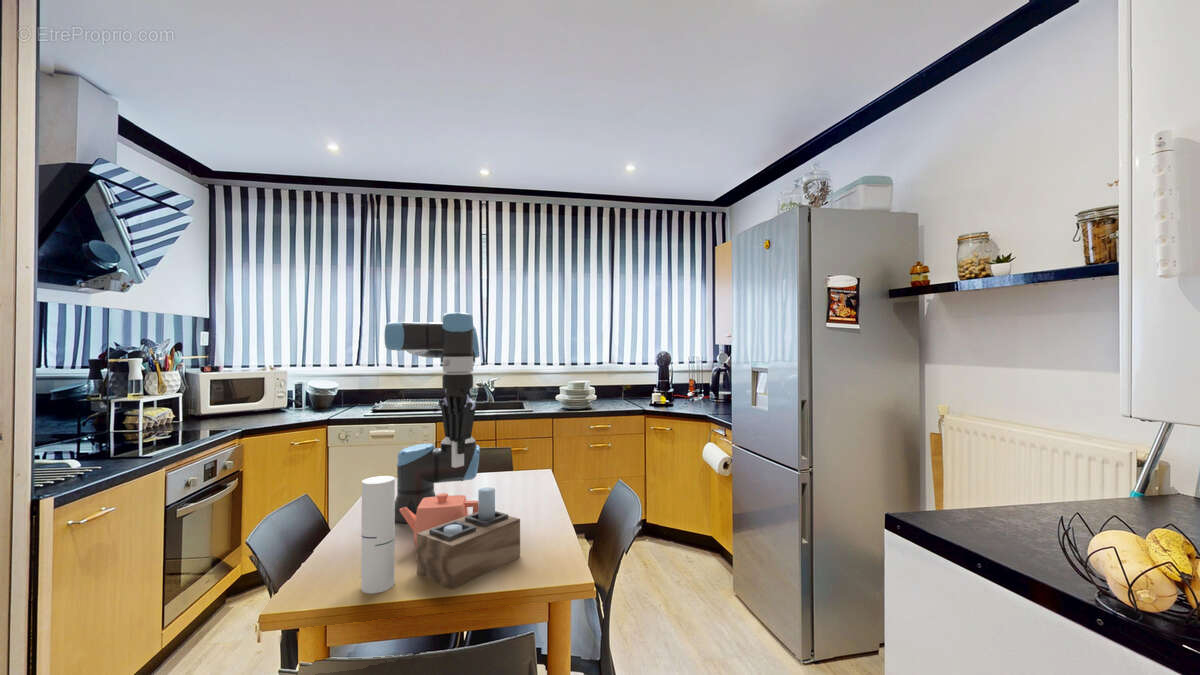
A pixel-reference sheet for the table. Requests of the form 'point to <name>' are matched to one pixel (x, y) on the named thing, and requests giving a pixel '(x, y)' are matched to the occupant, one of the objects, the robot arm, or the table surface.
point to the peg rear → (486, 504)
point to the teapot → (437, 512)
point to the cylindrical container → (378, 534)
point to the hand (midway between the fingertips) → (457, 466)
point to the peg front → (452, 528)
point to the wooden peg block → (467, 549)
